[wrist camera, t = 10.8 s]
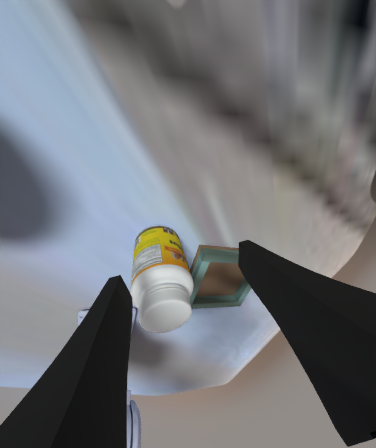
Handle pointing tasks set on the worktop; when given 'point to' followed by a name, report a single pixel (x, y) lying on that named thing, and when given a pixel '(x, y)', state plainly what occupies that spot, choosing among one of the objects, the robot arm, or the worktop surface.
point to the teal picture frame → (217, 278)
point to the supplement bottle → (161, 280)
